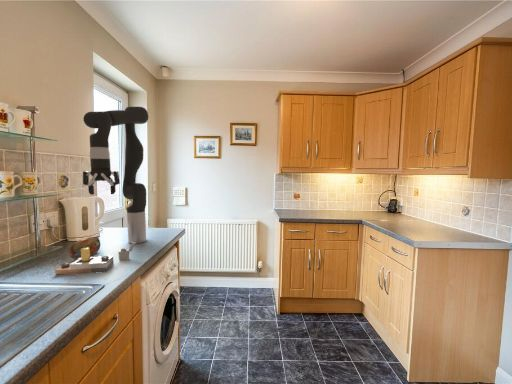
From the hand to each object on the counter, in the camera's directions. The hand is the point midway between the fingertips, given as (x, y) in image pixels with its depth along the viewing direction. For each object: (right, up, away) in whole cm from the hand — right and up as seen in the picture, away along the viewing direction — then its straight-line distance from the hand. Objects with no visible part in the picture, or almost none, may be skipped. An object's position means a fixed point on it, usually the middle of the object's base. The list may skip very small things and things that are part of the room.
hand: (102, 194), depth 113 cm
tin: (-12, -30, +6) cm, 33 cm away
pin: (-1, -31, -9) cm, 33 cm away
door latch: (-1, -31, -9) cm, 33 cm away
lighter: (+10, -30, +3) cm, 32 cm away
